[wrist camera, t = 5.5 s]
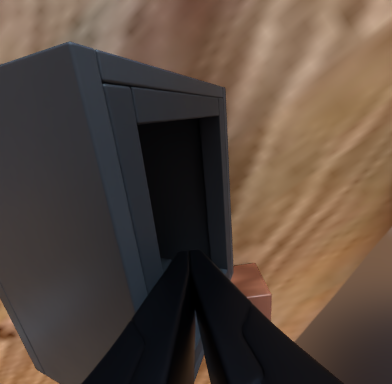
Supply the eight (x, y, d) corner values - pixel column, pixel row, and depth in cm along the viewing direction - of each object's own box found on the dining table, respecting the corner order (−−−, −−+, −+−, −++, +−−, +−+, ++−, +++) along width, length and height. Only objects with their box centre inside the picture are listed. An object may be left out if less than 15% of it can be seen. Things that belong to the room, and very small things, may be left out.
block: (255, 262, 21) (272, 294, 17) (255, 294, 22) (271, 331, 18) (214, 267, 21) (222, 301, 17) (217, 299, 22) (224, 337, 18)
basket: (225, 87, 12) (68, 39, 4) (233, 272, 16) (169, 451, 8) (117, 103, 15) (-102, 98, 7) (147, 255, 20) (35, 369, 11)
